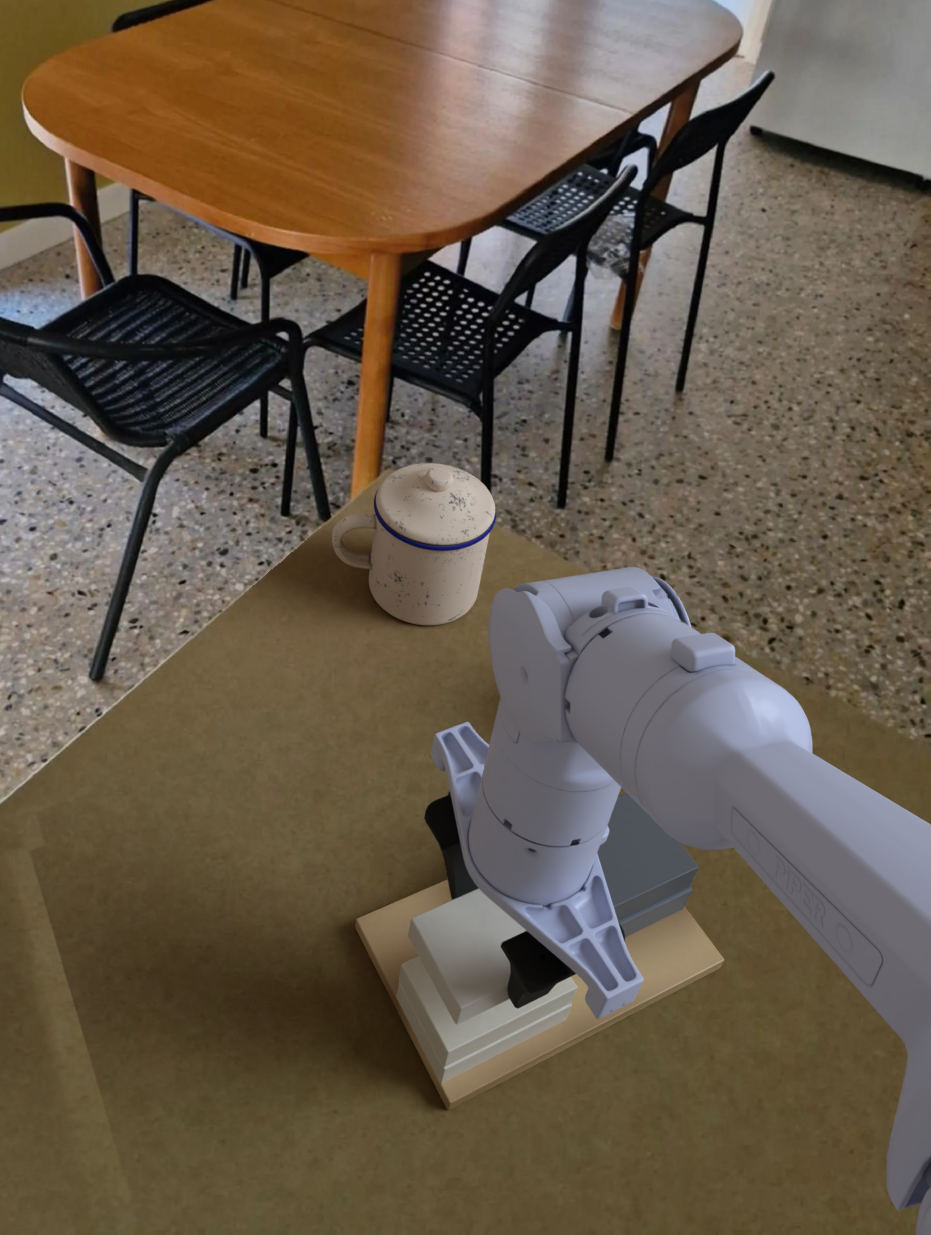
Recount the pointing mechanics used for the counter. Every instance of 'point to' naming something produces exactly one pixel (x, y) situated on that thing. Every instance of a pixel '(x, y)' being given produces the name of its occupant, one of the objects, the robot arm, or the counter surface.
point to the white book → (466, 952)
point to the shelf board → (658, 951)
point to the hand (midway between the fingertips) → (499, 945)
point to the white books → (473, 1022)
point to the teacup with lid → (424, 542)
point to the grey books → (643, 868)
